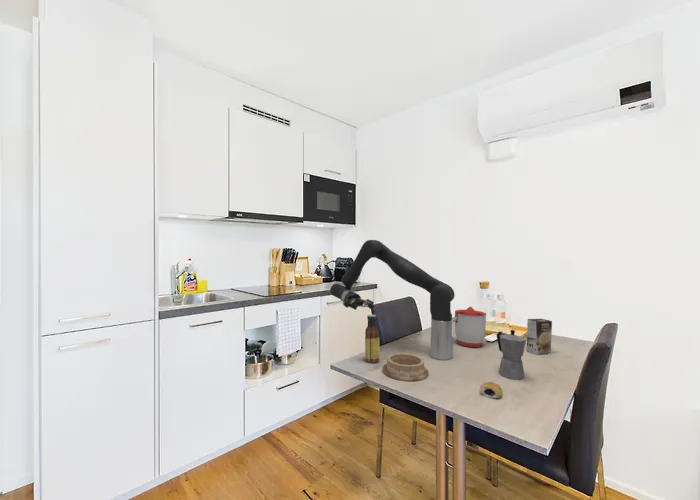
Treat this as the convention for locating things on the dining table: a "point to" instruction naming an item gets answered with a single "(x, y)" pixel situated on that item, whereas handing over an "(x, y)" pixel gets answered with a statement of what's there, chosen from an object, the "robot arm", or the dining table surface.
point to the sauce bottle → (372, 340)
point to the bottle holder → (405, 367)
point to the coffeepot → (511, 355)
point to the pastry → (491, 390)
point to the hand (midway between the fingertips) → (364, 307)
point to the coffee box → (539, 336)
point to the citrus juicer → (470, 327)
